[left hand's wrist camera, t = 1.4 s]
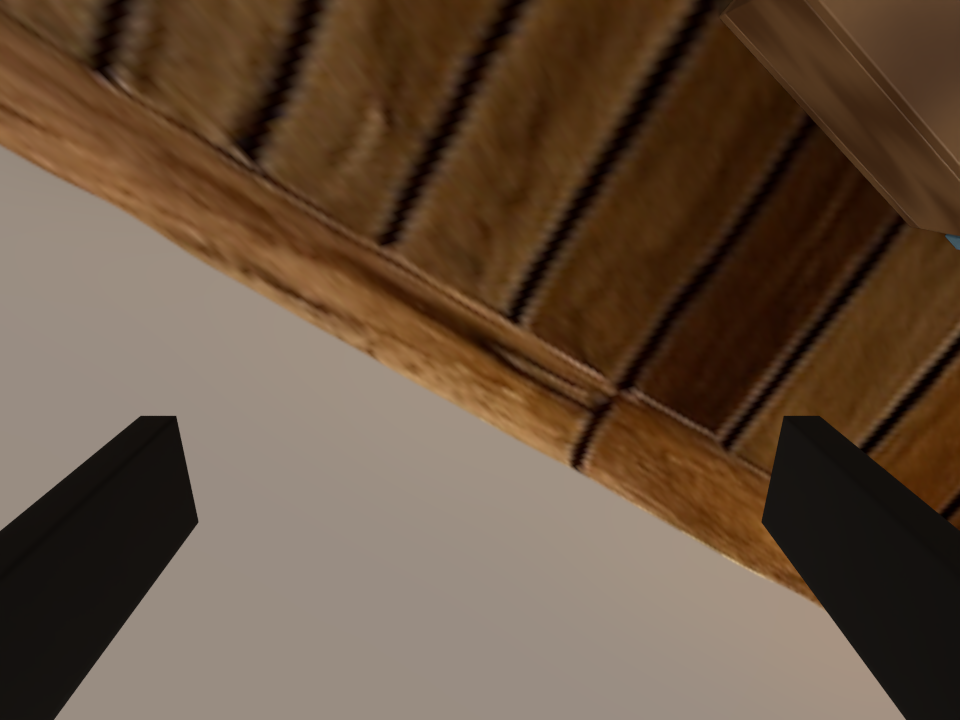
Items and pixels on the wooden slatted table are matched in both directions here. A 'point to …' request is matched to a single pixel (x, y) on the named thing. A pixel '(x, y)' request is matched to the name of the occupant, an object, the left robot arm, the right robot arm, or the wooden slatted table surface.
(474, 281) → the wooden slatted table surface
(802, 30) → the cabinet
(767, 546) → the wooden slatted table surface
